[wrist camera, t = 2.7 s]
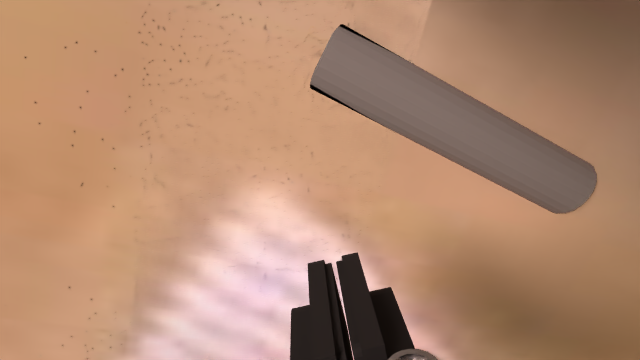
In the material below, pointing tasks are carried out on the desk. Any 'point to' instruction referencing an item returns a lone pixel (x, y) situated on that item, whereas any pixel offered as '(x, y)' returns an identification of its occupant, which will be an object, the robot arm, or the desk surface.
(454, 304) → the desk surface
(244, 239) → the desk surface
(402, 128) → the half round rod
